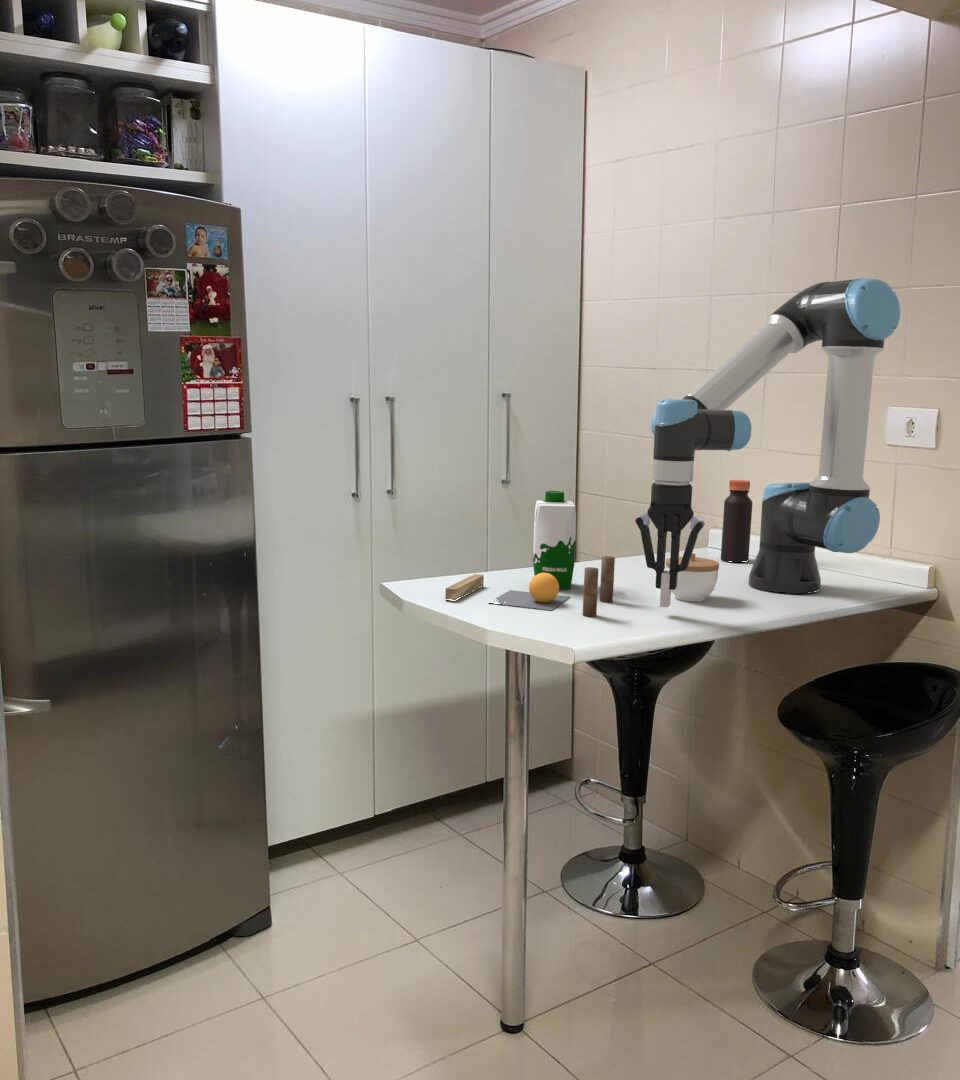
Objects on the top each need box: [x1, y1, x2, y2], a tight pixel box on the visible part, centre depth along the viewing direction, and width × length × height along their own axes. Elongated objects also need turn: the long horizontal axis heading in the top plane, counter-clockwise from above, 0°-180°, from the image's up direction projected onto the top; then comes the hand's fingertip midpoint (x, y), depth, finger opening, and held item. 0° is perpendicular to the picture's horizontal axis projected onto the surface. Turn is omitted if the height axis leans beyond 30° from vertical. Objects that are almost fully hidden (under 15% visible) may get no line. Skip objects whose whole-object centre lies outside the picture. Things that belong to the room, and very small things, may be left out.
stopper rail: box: [444, 573, 485, 600], centre depth 208 cm, size 2×16×2 cm, turn 159°
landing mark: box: [494, 589, 571, 611], centre depth 204 cm, size 13×13×1 cm
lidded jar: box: [665, 552, 720, 603], centre depth 209 cm, size 11×11×9 cm
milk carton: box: [532, 490, 577, 590], centre depth 216 cm, size 9×9×20 cm
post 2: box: [599, 555, 616, 604], centre depth 204 cm, size 3×3×9 cm
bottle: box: [720, 479, 753, 562], centre depth 251 cm, size 7×7×20 cm
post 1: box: [582, 566, 600, 618], centre depth 192 cm, size 3×3×9 cm
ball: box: [528, 573, 560, 603], centre depth 202 cm, size 6×6×6 cm
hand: (665, 605), depth 194 cm, fingers closed
